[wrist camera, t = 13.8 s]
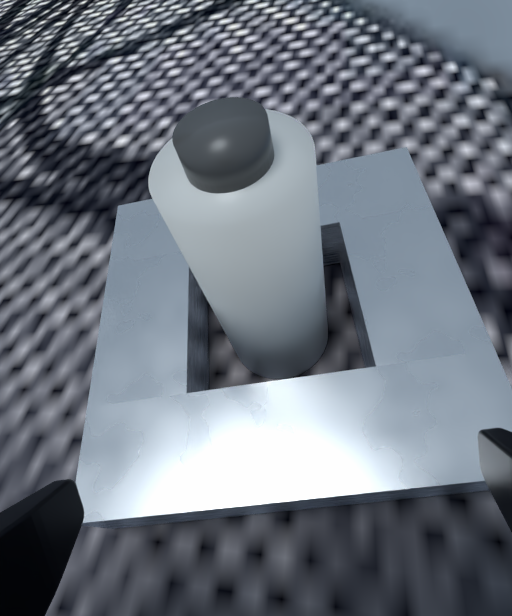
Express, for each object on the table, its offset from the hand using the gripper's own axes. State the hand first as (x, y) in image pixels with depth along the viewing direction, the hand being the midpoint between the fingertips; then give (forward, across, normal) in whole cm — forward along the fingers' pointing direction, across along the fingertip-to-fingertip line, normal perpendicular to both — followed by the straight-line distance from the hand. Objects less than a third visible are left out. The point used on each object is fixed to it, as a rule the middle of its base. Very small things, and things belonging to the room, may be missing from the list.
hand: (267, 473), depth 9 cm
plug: (+10, 0, 0) cm, 10 cm away
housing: (+10, 0, 0) cm, 10 cm away
